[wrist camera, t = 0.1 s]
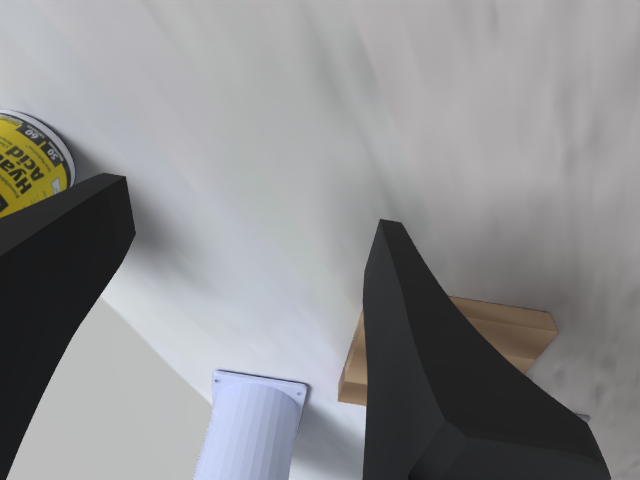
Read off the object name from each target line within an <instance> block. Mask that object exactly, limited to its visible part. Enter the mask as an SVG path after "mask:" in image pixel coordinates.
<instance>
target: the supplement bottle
mask: <svg viewBox="0 0 640 480" xmlns="http://www.w3.org/2000/svg"><path fill="white" fill-rule="evenodd" d="M74 179H75V167H74V163H73V159H72V157H71V155H70V153H69V151H68V149H67V148H66V146H65V145H64V143H63V142H62V141H61V140H60V138H59V137H58V136H57V135H56V134H55V133H53V132H52V131H51V130H50V129H49V128H47V127H46V126H45V125H43V124H42V123H40V122H39V121H37V120H35V119H33V118H31V117H29V116H27V115H24V114H22V113H18V112H15V111H10V110H0V218H1V217H4V216H6V215H9V214H11V213H13V212H16V211H18V210H21V209H23V208H25V207H28V206H30V205H32V204H35V203H37V202H39V201H41V200H43V199H46V198H48V197H50V196H52V195H54V194H56V193H59V192H61V191H63V190H65V189H67V188H69V187H72V185H73V183H74Z"/></svg>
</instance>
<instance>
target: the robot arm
mask: <svg viewBox="0 0 640 480" xmlns="http://www.w3.org/2000/svg"><path fill="white" fill-rule="evenodd" d="M135 234H136V232H135V226H134V221H133V215H132V210H131V204H130V198H129V193H128V187H127V181H126V176H120V175H114V174H108V173H102V174H99V175H97V176H94V177H92V178H89V179H87V180H85V181H83V182H80V183H78V184H76V185H74V186H72V187H69V188H67V189H65V190H63V191H61V192H59V193H56V194H54V195H52V196H50V197H48V198H46V199H43V200H41V201H39V202H37V203H35V204H32V205H30V206H28V207H25V208H23V209H21V210H18V211H16V212H13V213H11V214H9V215H6V216H4V217H1V218H0V480H6V478H7V476H8V473H9V471H10V468H11V466H12V463H13V461H14V459H15V456H16V454H17V451H18V449H19V446H20V444H21V442H22V439H23V437H24V435H25V432H26V430H27V428H28V426H29V423H30V421H31V419H32V417H33V415H34V413H35V410H36V408H37V406H38V404H39V402H40V399H41V397H42V395H43V393H44V391H45V389H46V387H47V385H48V383H49V381H50V379H51V377H52V375H53V373H54V371H55V369H56V367H57V365H58V363H59V361H60V359H61V358H62V356H63V354H64V352H65V350H66V348H67V346H68V344H69V342H70V341H71V338H72V337H73V335H74V334H75V332H76V331H77V329H78V327H79V325H80V324H81V323H82V321H83V320H84V318H85V317H86V315H87V314H88V312H89V311H90V309H91V308H92V307H93V305H94V304H95V302H96V300H97V299H98V298H99V296H100V295H101V293H102V292H103V290H104V289H105V288H106V286H107V285H108V283H109V282H110V280H111V279H112V277H113V276H114V274H115V273H116V271H117V270H118V268H119V267H120V265H121V263H122V262H123V260H124V258H125V256H126V254H127V252H128V250H129V248H130V245H131V243H132V241H133V239H134V237H135ZM363 314H364V330H365V345H366V360H367V408H366V430H365V450H364V466H363V480H611V477H610V473H609V470H608V468H607V465H606V463H605V461H604V458H603V456H602V454H601V451H600V449H599V446H598V444H597V442H596V440H595V438H594V436H593V434H592V431H591V430H590V428H589V426H588V423H586V422H585V421H584V420H582V419H581V418H580V417H578V416H577V415H576V414H574V413H573V412H572V411H570V410H569V409H568V408H566V407H565V406H563V405H562V404H561V403H559V402H558V401H557V400H555V399H554V398H553V397H551V396H550V395H549V394H547V393H546V392H545V391H543V390H542V389H541V388H540V387H538V386H537V385H536V384H535V383H534V382H532V381H531V380H530V379H529V378H528V377H526V376H525V375H524V374H523V373H522V372H520V371H519V370H518V369H517V368H516V367H515V366H514V365H512V364H511V363H510V362H509V361H508V360H507V359H506V358H505V357H504V356H502V355H501V354H500V353H499V352H498V351H497V350H496V349H495V348H494V347H493V346H492V345H491V344H490V343H489V342H488V341H487V340H486V339H485V338H484V337H483V336H482V335H481V334H480V333H479V332H478V331H477V330H476V329H475V328H474V326H473V325H472V324H471V323H470V322H469V321H468V320H467V318H466V317H465V316H464V315H463V314H462V313H461V312H460V311H459V309H458V308H457V307H456V306H455V304H454V303H453V302H452V301H451V299H450V298H449V297H448V295H447V294H446V293H445V291H444V290H443V289H442V287H441V286H440V285H439V283H438V282H437V280H436V279H435V277H434V276H433V274H432V273H431V271H430V270H429V268H428V267H427V265H426V263H425V262H424V260H423V259H422V257H421V255H420V254H419V252H418V250H417V249H416V247H415V245H414V243H413V242H412V240H411V238H410V236H409V235H408V233H407V231H406V229H405V228H404V226H403V224H402V223H401V222H395V221H389V220H383V219H380V221H379V224H378V228H377V231H376V234H375V238H374V241H373V244H372V248H371V251H370V255H369V258H368V261H367V265H366V268H365V273H364V288H363ZM306 393H307V386H306V385H304V384H300V383H294V382H287V381H281V380H275V379H268V378H262V377H255V376H249V375H243V374H236V373H230V372H224V371H214V372H213V374H212V398H213V413H212V416H211V420H210V423H209V426H208V430H207V433H206V437H205V440H204V443H203V446H202V450H201V453H200V456H199V460H198V463H197V467H196V470H195V473H194V477H193V480H289V472H290V465H291V457H292V449H293V442H294V439H295V438H296V435H297V431H298V426H299V422H300V418H301V414H302V409H303V405H304V401H305V397H306Z"/></svg>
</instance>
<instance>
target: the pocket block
mask: <svg viewBox="0 0 640 480" xmlns="http://www.w3.org/2000/svg"><path fill="white" fill-rule="evenodd" d="M448 297H449V298H450V299H451V301H452V302H453V303H454V304H455V306H456V307H457V308H458V309H459V311H460V312H461V313H462V314H463V315H464V316H465V317H466V318H467V320H468V321H469V322H470V323H471V324H472V325H473V326H474V328H475V329H476V330H477V331H478V332H479V333H480V334H481V335H482V336H483V337H484V338H485V339H486V340H487V341H488V342H489V343H490V344H491V345H492V346H493V347H494V348H495V349H496V350H497V351H498V352H499V353H500V354H501V355H502V356H504V357H505V358H506V359H507V360H508V361H509V362H510V363H511V364H512V365H514V366H515V367H516V368H517V369H518V370H519V371H520V372H522V373H523V374H525V373H526V371H527V370H528V369H529V368H530V366H531V365H532V364H533V363H534V362H535V360H536V359H537V358H538V357H539V356H540V354H541V353H542V352H543V351H544V349H545V348H546V347H547V346H548V345H549V343H550V342H551V341H552V340H553V338H554V337H555V336H556V335H557V334H558V330H557V328H556V326H555V323H554V321H553V319H552V317H551V315H550V313H547V312H541V311H535V310H529V309H523V308H517V307H511V306H505V305H499V304H493V303H487V302H480V301H474V300H468V299H462V298H456V297H450V296H448ZM338 402H344V403H351V404H357V405H364V406H367V360H366V345H365V330H364V314H363V309H362V312H361V316H360V319H359V322H358V325H357V328H356V331H355V334H354V337H353V340H352V344H351V347H350V350H349V353H348V356H347V359H346V362H345V365H344V368H343V372H342V375H341V378H340V381H339V386H338Z"/></svg>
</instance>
